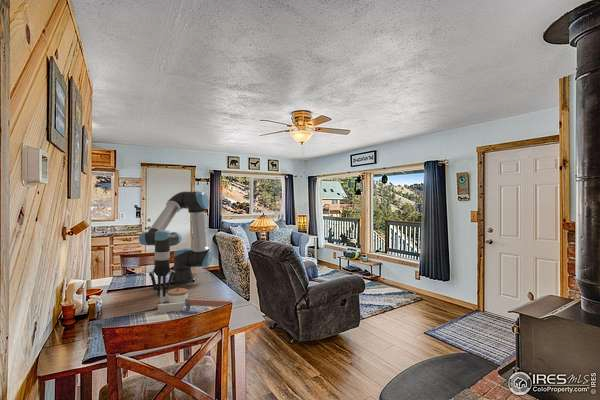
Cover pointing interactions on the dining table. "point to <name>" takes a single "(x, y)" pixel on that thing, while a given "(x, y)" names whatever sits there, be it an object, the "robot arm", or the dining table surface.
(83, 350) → the dining table surface
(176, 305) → the socket channel
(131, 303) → the dining table surface
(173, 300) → the lidded jar
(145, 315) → the dining table surface
